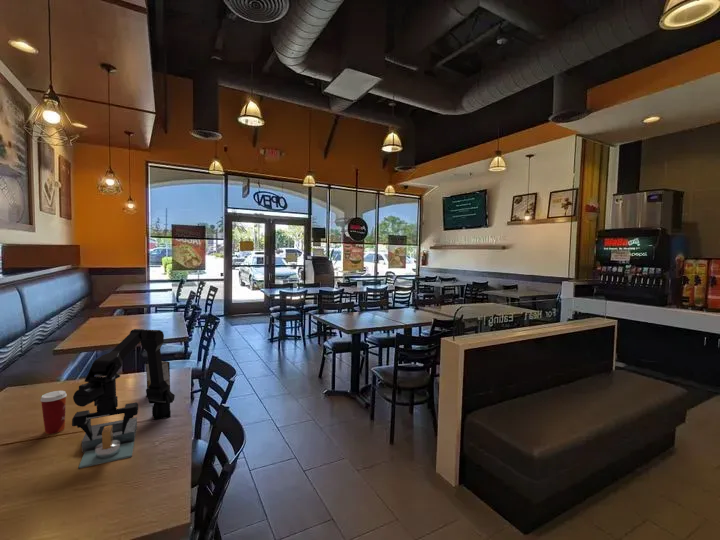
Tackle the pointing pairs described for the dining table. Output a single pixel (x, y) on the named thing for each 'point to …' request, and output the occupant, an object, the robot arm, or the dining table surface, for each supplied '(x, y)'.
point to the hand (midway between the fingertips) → (107, 437)
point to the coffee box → (165, 373)
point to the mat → (91, 459)
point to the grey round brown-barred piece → (107, 444)
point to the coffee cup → (54, 411)
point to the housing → (117, 434)
